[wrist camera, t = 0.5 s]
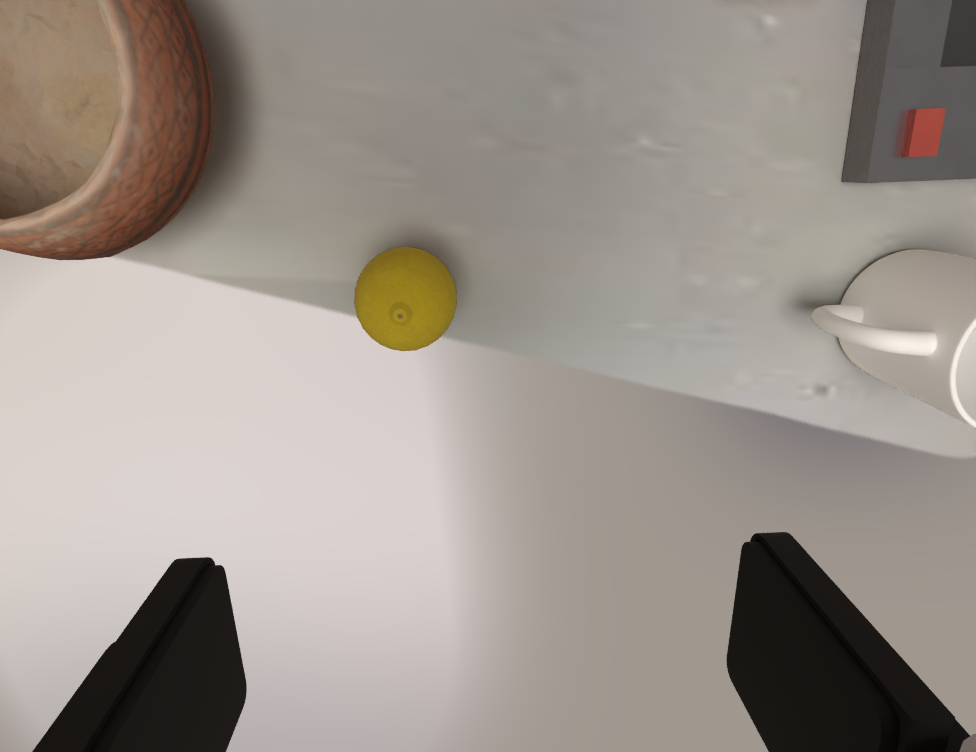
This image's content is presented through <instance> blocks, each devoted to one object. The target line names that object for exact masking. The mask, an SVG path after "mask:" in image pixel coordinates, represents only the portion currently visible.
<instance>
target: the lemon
mask: <svg viewBox="0 0 976 752" xmlns="http://www.w3.org/2000/svg"><path fill="white" fill-rule="evenodd" d="M354 303H355V308H356V313H357V317H358V319H359V321H360V323H361V325H362V327H363V329H364V330H365V331H366V332H367V333H368V335H369V336H370V337H371V338H372V339H374V340H375V341H376V342H378V343H379V344H381V345H383V346H385V347H388V348H390V349H393V350H400V351H411V350H417V349H420V348H423V347H426V346H428V345H430V344H431V343H433V342H434V341H436V340H438V339H439V338H440V337H441V336H442V334H443V333H444V332H445V331H446V330H447V329H448V327H449V325H450V323H451V321H452V319H453V317H454V313H455V309H456V305H457V297H456V288H455V284H454V281H453V278H452V276H451V274H450V273H449V271H448V269H447V268H446V266H445V265H444V264H443V263H442V262H441V261H440V260H439V259H438V258H437V257H435V256H434V255H432V254H430V253H429V252H427V251H424V250H421V249H418V248H414V247H398V248H393V249H389V250H387V251H385V252H383V253H381V254H379V255H377V256H376V257H375V258H374V259H372V260H371V261H370V262H369V263H368V264H367V265H366V266H365V268H364V269H363V271H362V273H361V274H360V276H359V278H358V282H357V285H356V288H355V301H354Z"/></svg>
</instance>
